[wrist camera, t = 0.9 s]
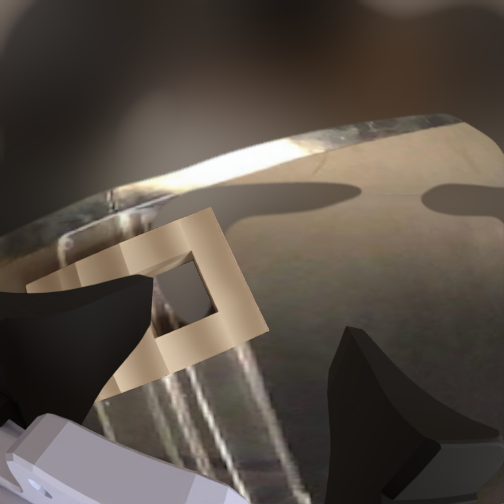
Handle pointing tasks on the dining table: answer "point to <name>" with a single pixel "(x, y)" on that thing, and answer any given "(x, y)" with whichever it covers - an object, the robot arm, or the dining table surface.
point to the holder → (156, 262)
